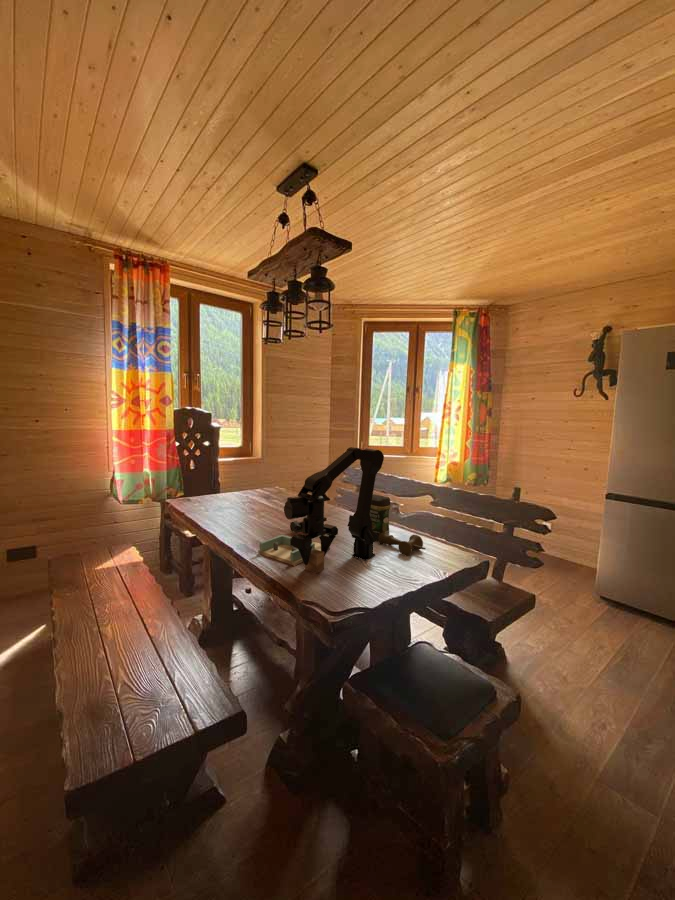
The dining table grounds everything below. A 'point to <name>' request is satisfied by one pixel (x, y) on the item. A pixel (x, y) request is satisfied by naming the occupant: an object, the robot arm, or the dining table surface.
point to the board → (284, 553)
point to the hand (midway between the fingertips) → (314, 560)
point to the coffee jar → (380, 514)
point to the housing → (282, 540)
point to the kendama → (402, 543)
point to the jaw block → (315, 561)
